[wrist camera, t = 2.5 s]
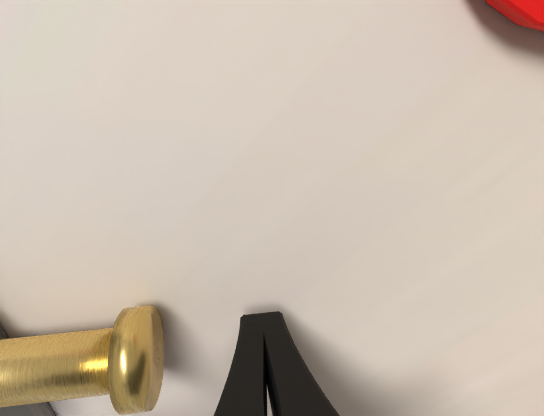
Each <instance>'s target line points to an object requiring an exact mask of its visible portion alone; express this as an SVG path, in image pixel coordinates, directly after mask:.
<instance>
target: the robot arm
mask: <svg viewBox="0 0 544 416" xmlns="http://www.w3.org/2000/svg"><path fill="white" fill-rule="evenodd" d="M267 387H268V393H269V398H270V404H271V409H272V414H273V416H339V414H338V413H337V411H336V410H335V409H334V407H333V406H332V405H331V403H330V402H329V400H328V399H327V397H326V396H325V394H324V393H323V392H322V390H321V388H320V387H319V385H318V384H317V382H316V381H315V379H314V378H313V376H312V374H311V373H310V371H309V369H308V368H307V366H306V364H305V362H304V360H303V359H302V357H301V355H300V353H299V351H298V350H297V348H296V346H295V344H294V342H293V340H292V337H291V335H290V333H289V331H288V329H287V326H286V324H285V321H284V318H283V315H282V313H281V312H279V311H278V312H268V313H259V314H249V315H243V316H242V317H241V318H240V330H239V336H238V341H237V345H236V350H235V354H234V357H233V361H232V364H231V368H230V372H229V375H228V378H227V381H226V384H225V387H224V390H223V392H222V395H221V398H220V401H219V404H218V406H217V409H216V411H215V414H214V416H267Z"/></svg>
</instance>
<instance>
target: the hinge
mask: <svg viewBox="0 0 544 416" xmlns="http://www.w3.org/2000/svg"><path fill="white" fill-rule="evenodd" d="M2 339H9V338H8V337H7V335H6V333H5V332H4V330H3V328H2V327H1V325H0V340H2ZM0 416H55V414H54V413H53V411H52V409H51V408H50V406H49V404H48V403H47V402H41V403H33V404H25V405H16V406H8V407H0Z"/></svg>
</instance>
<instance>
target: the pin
mask: <svg viewBox="0 0 544 416" xmlns="http://www.w3.org/2000/svg"><path fill="white" fill-rule="evenodd" d="M163 369H164V337H163V329H162V323H161V319H160V315H159V313H158V310H157V309H156V307H155V306H153V305H149V306H139V307H129V308H125V309H123V310H122V311H121V313H120V314H119V316H118V317H117V319H116V322H115V324H114V327H113V328H106V329H96V330H87V331H77V332H68V333H59V334H49V335H40V336H30V337H21V338H11V339H2V340H0V407H8V406H16V405H25V404H33V403H41V402H50V401H58V400H66V399H75V398H83V397H91V396H100V395H108V394H110V398H111V402H112V404H113V407H114V409H115V410H116V412H117V413H119V414H121V415H123V414H131V413H139V412H147V411H151V410H152V409H153V408H154V407H155V405H156V403H157V400H158V397H159V394H160V390H161V385H162V378H163Z"/></svg>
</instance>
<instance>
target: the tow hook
mask: <svg viewBox="0 0 544 416" xmlns="http://www.w3.org/2000/svg"><path fill="white" fill-rule="evenodd" d="M485 1H486V3H488V4H489V5H490V6H492V7H493V8H495V9H496V10H497V11H499V12H500V13H502V14H503V15H504V16H506V17H507V18H509V19H510V20H511V21H513V22H514V23H515V24H517V25H520V26H524V27H528V28H532V29H536V30H539V31H543V32H544V0H485Z"/></svg>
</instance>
